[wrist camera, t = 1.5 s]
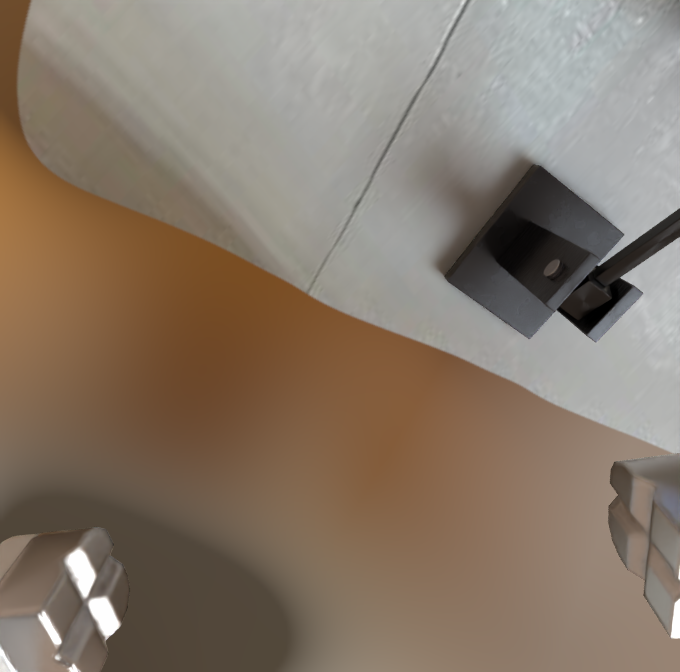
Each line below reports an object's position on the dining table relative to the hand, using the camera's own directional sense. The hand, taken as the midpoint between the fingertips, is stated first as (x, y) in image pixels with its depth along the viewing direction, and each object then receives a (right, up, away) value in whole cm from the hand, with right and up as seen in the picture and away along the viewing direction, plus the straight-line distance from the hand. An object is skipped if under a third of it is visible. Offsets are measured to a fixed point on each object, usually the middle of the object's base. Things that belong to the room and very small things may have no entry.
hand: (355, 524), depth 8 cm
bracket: (+17, +10, +38) cm, 43 cm away
